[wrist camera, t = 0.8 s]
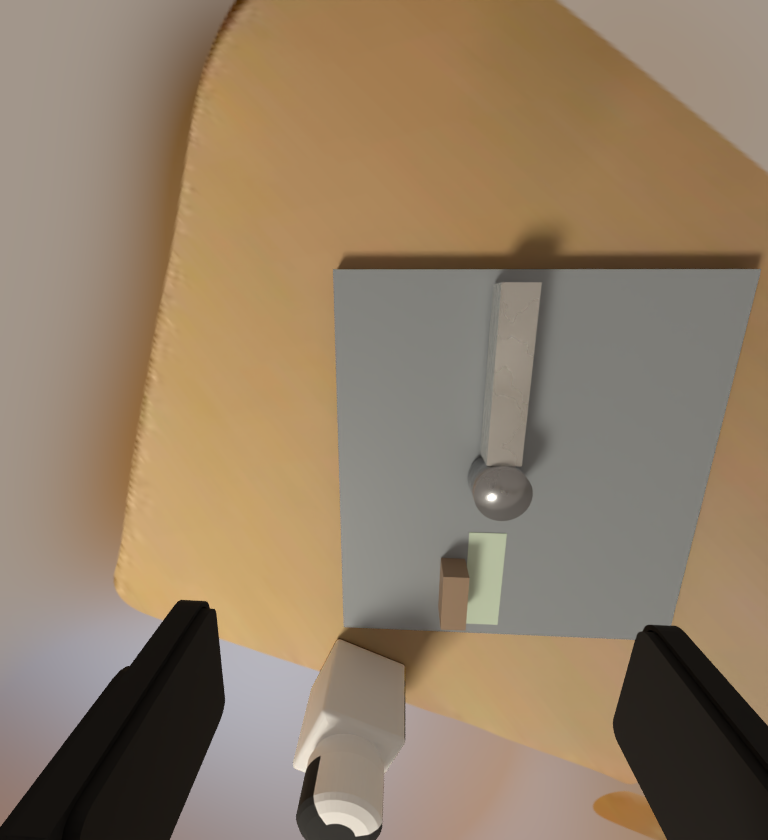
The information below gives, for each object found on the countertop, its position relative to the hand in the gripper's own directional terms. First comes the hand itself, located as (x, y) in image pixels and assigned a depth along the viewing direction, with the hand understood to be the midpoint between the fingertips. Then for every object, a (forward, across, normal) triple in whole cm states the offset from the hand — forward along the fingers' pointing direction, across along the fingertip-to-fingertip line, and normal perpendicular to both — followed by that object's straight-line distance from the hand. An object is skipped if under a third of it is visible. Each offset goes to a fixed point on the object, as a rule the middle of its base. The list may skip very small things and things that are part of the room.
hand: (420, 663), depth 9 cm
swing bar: (+21, -7, -1) cm, 22 cm away
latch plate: (+22, -9, +5) cm, 25 cm away
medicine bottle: (+23, +3, +27) cm, 35 cm away
